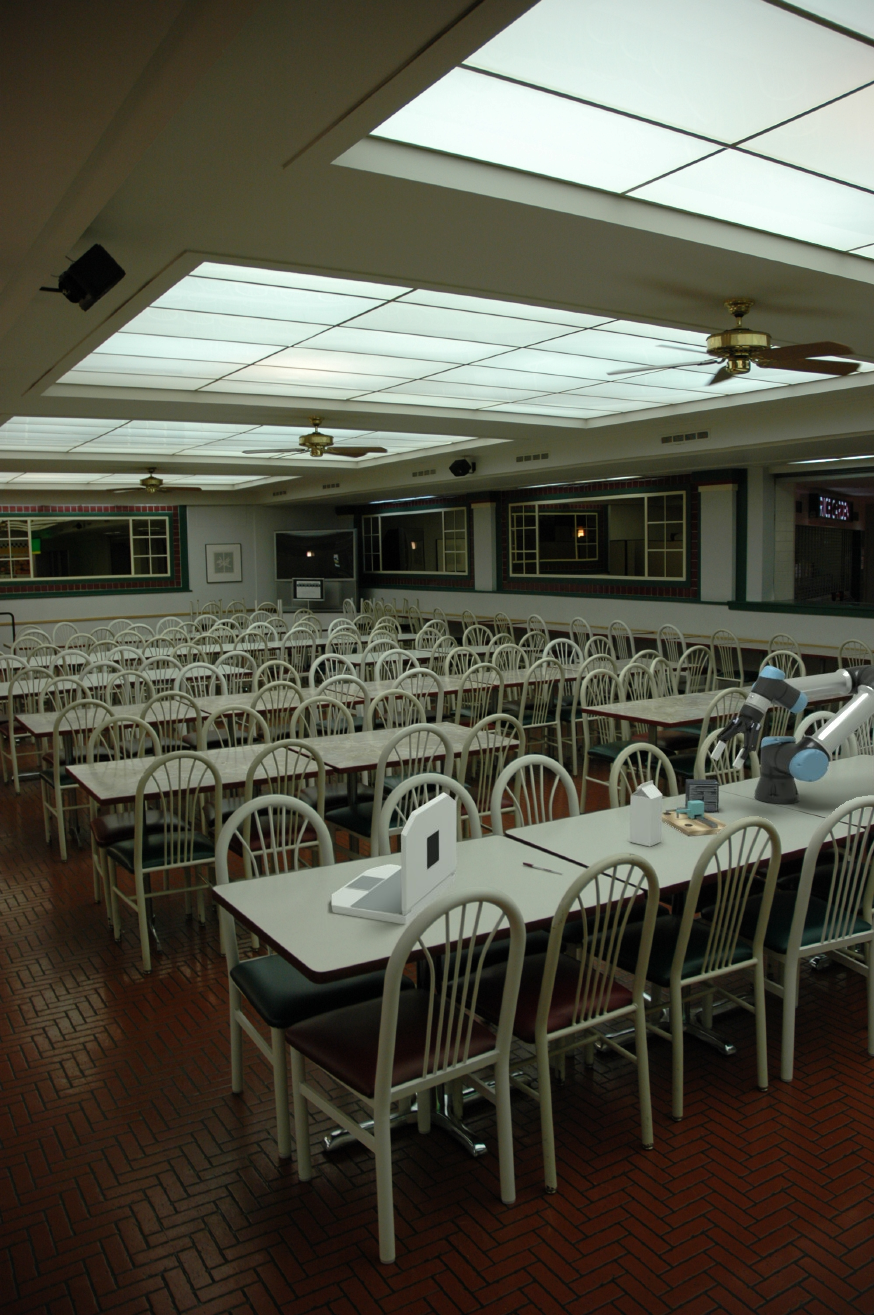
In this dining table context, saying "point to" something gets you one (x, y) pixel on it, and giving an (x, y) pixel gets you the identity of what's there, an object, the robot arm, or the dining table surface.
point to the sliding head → (693, 809)
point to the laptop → (407, 869)
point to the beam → (697, 818)
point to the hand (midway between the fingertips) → (724, 763)
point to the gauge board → (691, 824)
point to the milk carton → (646, 815)
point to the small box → (703, 793)
